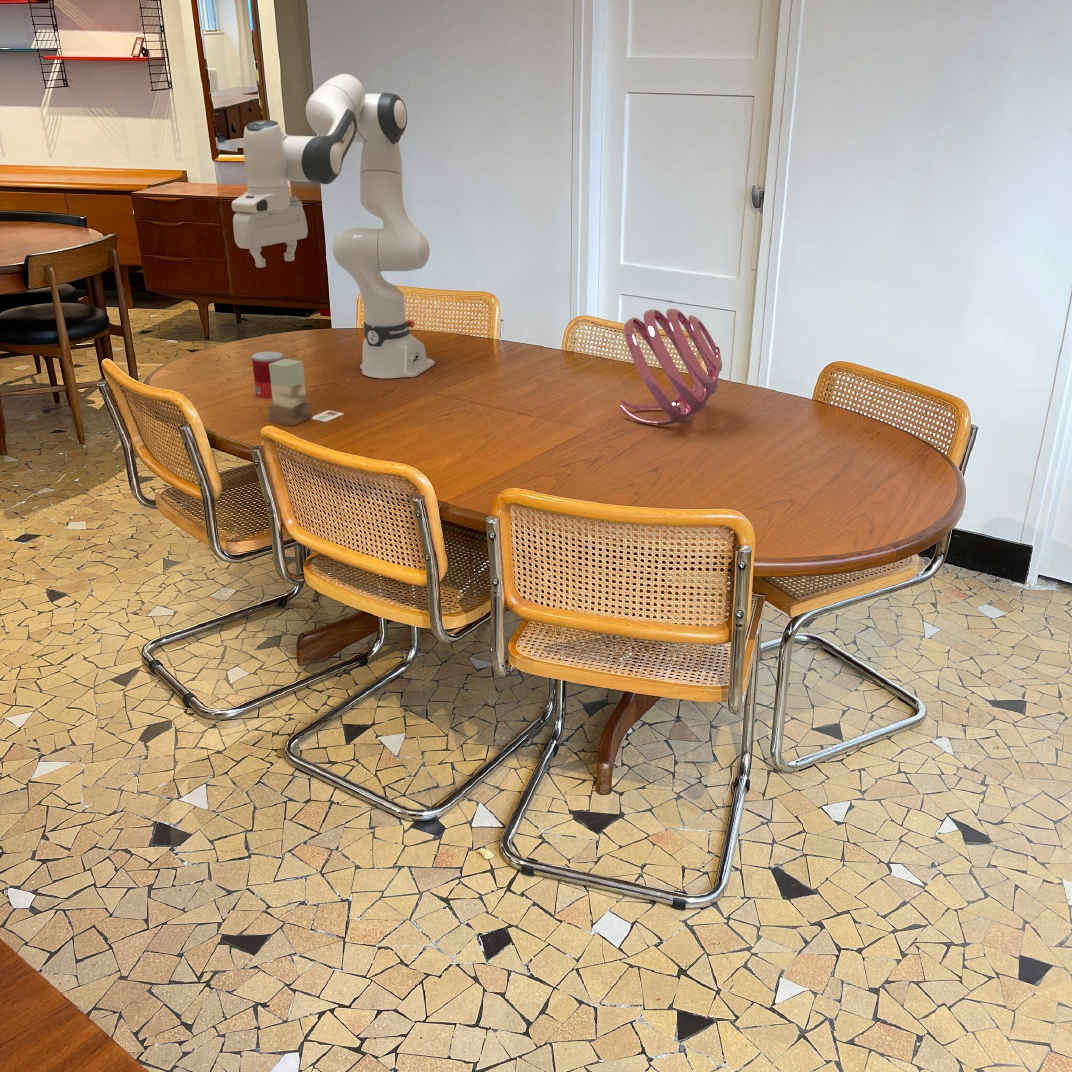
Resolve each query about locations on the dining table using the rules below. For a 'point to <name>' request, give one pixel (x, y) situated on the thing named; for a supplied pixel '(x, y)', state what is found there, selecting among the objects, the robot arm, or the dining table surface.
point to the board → (326, 416)
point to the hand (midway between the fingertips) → (275, 263)
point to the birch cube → (288, 395)
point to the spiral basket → (683, 393)
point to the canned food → (264, 372)
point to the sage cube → (286, 373)
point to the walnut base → (290, 414)
